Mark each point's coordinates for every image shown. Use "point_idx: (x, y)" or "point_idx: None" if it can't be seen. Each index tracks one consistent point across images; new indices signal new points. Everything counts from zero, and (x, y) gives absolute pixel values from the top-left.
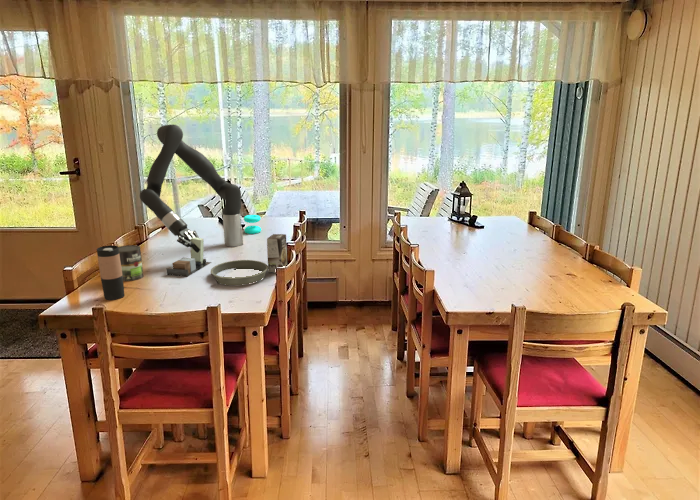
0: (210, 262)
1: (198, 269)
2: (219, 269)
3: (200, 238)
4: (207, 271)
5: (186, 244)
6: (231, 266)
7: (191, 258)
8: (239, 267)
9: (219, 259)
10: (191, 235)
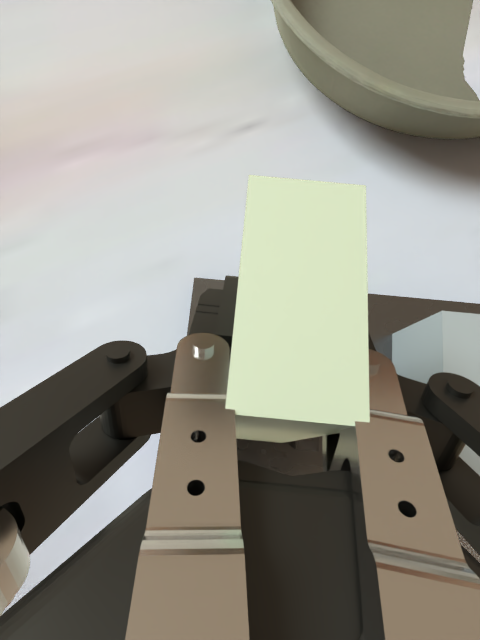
0: (197, 286)
1: (400, 306)
2: (421, 113)
3: (259, 231)
4: (372, 245)
5: (441, 479)
6: (319, 64)
7: (453, 351)
8: (286, 35)
9: (52, 275)
10: (236, 480)
